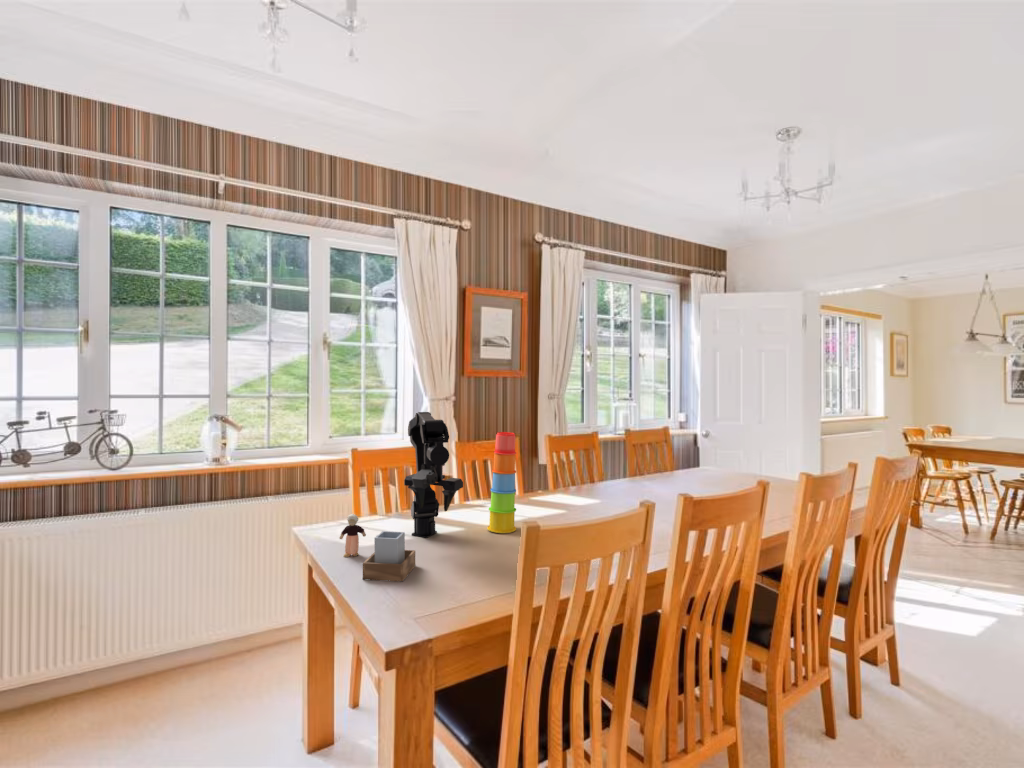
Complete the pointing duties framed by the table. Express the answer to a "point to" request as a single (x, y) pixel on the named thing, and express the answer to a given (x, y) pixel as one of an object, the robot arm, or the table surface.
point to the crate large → (389, 568)
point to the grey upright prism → (390, 547)
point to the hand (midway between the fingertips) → (433, 509)
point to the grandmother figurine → (352, 536)
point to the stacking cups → (503, 485)
